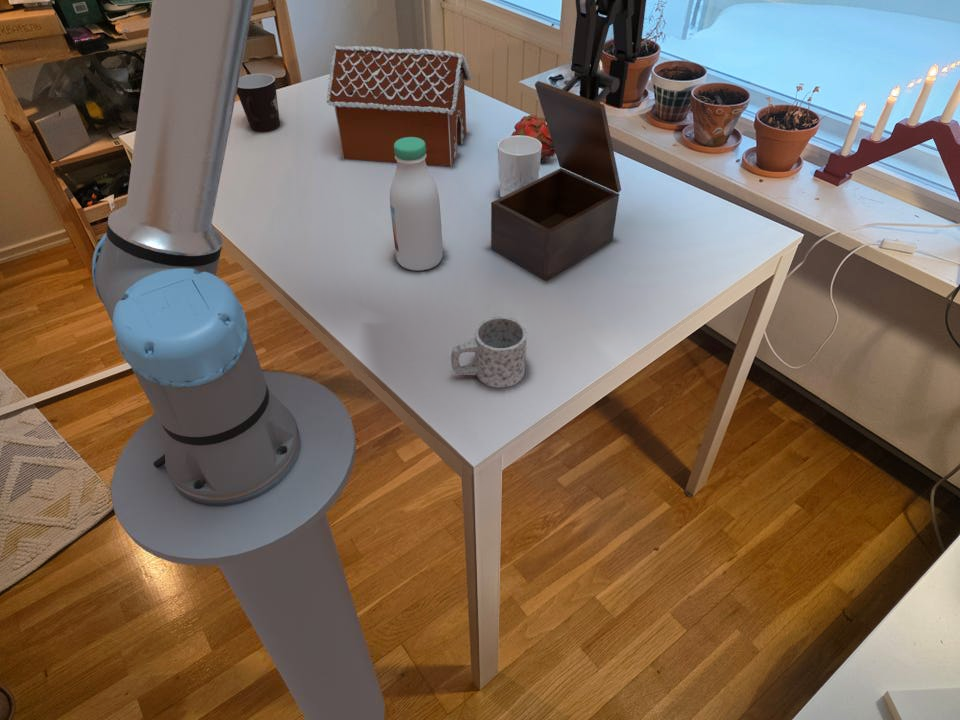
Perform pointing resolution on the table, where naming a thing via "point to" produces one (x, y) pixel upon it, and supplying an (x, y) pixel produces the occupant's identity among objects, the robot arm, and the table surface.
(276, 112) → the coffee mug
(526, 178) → the white cup
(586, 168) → the lid
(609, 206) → the chest
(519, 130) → the dragon fruit
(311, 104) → the table surface
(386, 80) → the gingerbread house
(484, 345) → the mug
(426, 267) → the milk bottle
